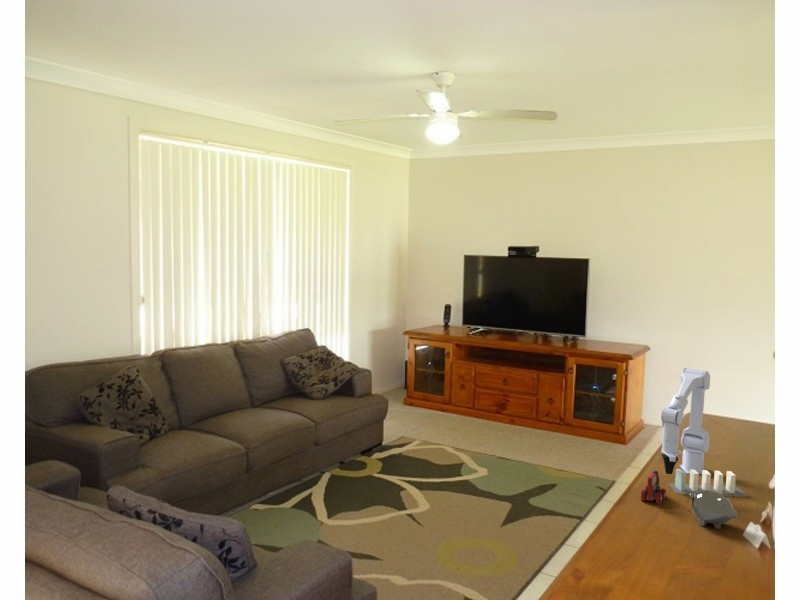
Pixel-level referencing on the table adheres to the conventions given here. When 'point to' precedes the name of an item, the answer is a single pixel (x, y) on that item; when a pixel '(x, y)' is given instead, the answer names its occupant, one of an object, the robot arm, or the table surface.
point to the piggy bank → (712, 507)
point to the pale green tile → (680, 479)
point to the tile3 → (706, 480)
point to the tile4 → (718, 481)
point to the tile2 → (694, 480)
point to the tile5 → (730, 482)
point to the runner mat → (689, 490)
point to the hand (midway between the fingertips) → (668, 473)
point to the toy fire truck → (653, 489)
